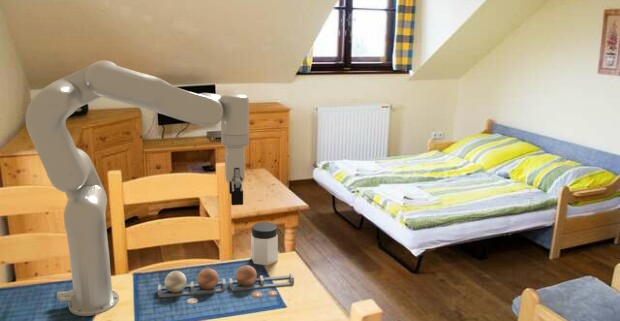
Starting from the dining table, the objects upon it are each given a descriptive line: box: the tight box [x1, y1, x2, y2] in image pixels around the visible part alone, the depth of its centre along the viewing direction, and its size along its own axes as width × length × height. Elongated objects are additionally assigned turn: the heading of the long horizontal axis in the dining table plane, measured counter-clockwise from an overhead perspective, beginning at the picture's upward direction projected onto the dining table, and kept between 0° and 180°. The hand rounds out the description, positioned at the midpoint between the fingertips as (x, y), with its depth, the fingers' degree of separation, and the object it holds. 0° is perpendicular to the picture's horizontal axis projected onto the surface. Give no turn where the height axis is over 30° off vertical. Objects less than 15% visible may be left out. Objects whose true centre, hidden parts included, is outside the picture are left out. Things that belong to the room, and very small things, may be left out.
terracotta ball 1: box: [196, 267, 220, 290], centre depth 146 cm, size 6×6×6 cm
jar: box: [250, 221, 279, 266], centre depth 165 cm, size 9×8×12 cm
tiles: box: [186, 290, 279, 305], centre depth 142 cm, size 29×4×1 cm, turn 103°
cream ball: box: [164, 270, 187, 293], centre depth 144 cm, size 6×6×6 cm
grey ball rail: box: [157, 272, 295, 298], centre depth 148 cm, size 39×5×2 cm, turn 103°
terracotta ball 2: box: [235, 264, 258, 286], centre depth 148 cm, size 6×6×6 cm
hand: (236, 198), depth 143 cm, fingers open, 9 cm apart
